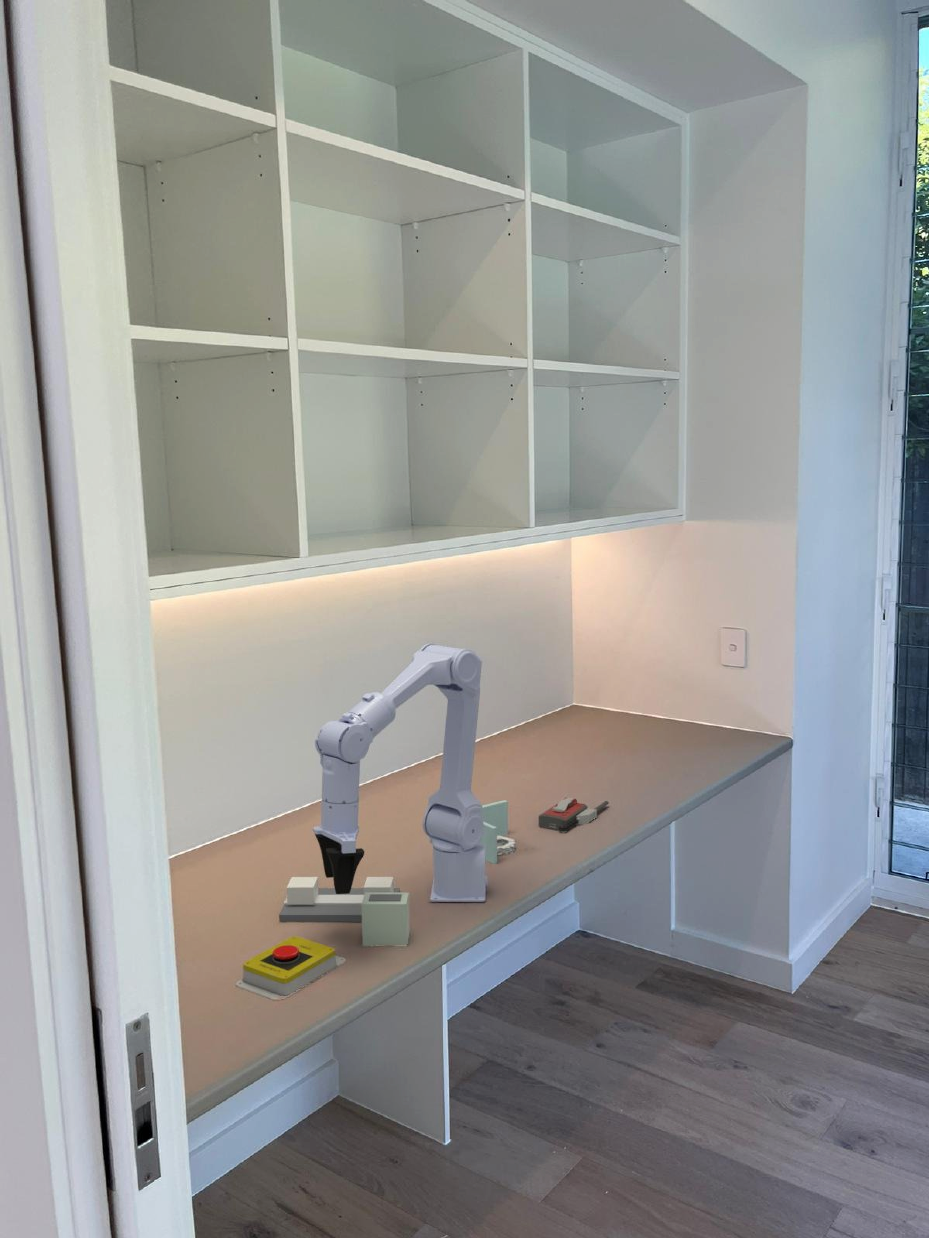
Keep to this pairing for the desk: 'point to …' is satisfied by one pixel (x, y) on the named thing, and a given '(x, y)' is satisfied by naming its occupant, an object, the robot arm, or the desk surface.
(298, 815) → the desk surface
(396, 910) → the block
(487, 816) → the l-shaped corner panel
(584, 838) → the desk surface
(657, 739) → the desk surface
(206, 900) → the desk surface
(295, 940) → the emergency button
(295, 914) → the rail board
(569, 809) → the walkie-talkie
